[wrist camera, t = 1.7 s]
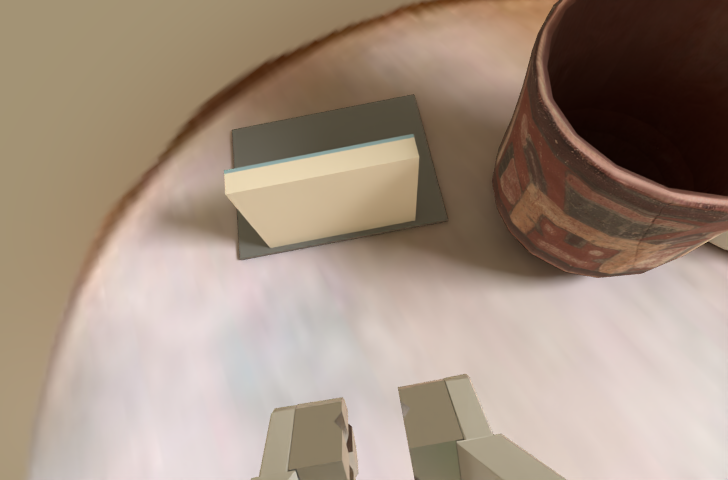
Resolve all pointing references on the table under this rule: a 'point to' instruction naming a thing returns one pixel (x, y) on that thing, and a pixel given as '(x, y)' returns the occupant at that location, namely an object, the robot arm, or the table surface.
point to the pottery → (619, 136)
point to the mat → (333, 134)
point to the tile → (328, 191)
